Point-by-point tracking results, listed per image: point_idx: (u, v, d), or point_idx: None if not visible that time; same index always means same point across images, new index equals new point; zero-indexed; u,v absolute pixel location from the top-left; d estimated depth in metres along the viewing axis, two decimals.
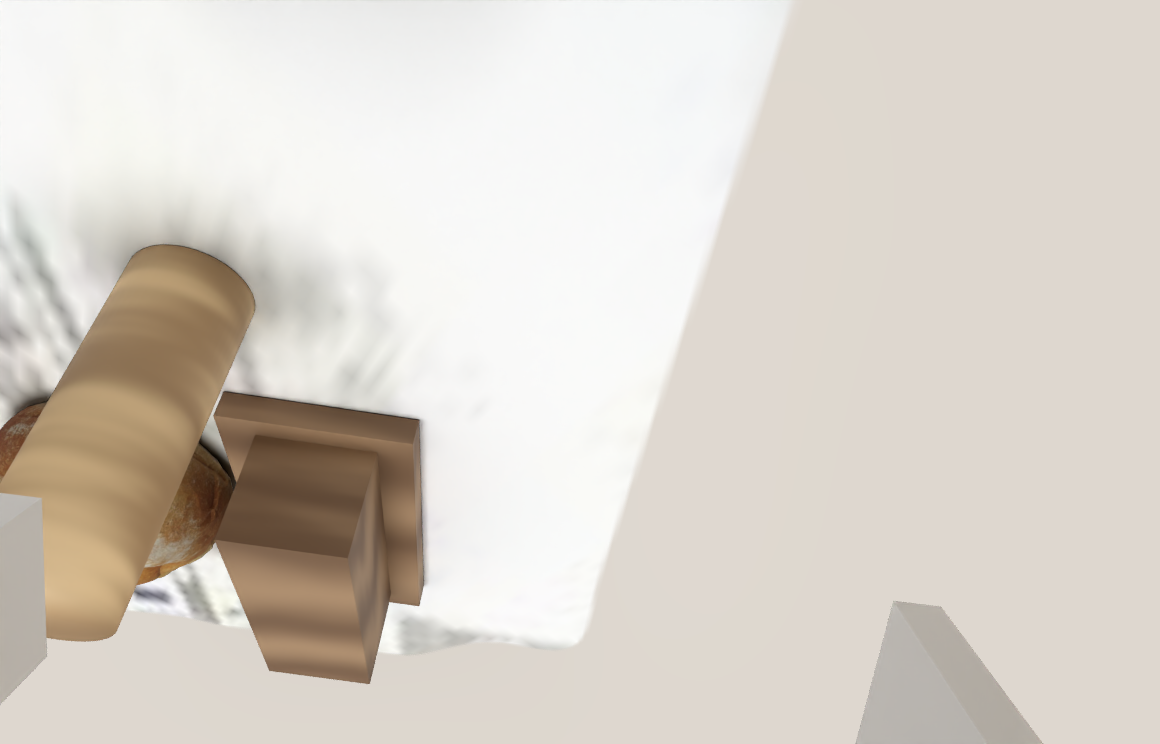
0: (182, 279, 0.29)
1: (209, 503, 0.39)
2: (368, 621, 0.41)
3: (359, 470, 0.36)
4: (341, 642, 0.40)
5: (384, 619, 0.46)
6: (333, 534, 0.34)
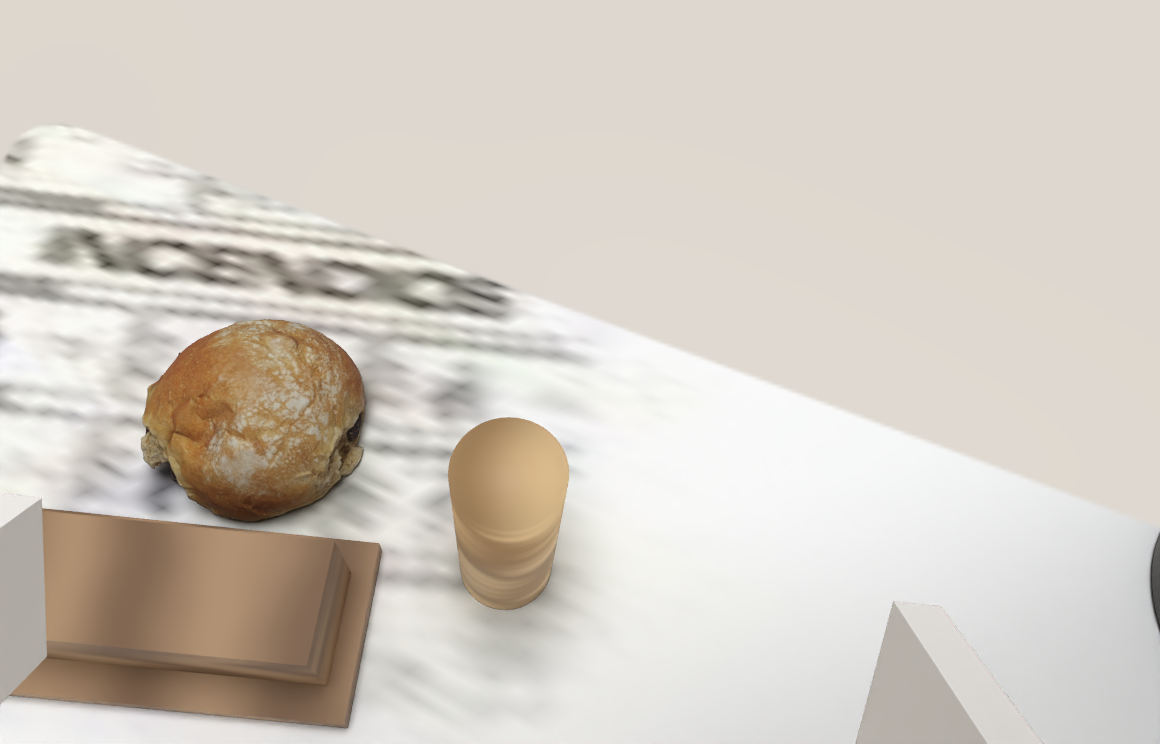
0: (549, 573, 0.42)
1: (261, 506, 0.41)
2: (91, 649, 0.35)
3: (326, 670, 0.38)
4: (84, 617, 0.35)
5: None
6: (315, 650, 0.36)
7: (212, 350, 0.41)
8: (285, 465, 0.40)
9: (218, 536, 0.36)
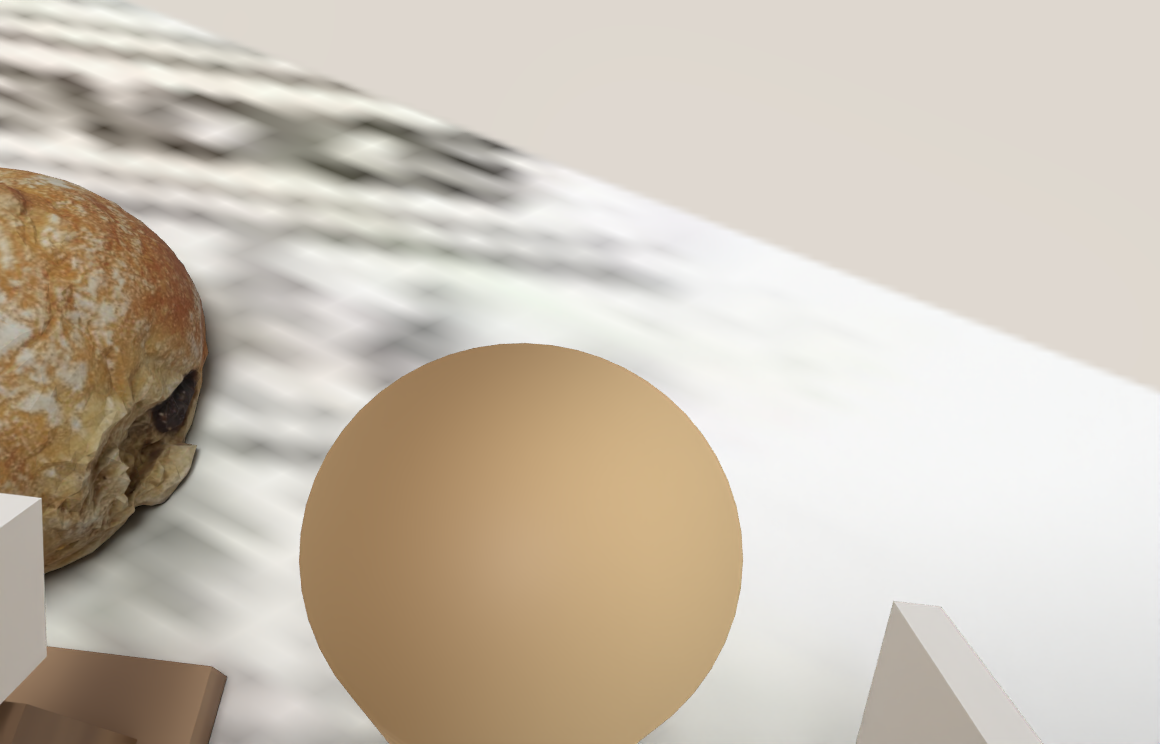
0: None
1: None
2: None
3: None
4: None
5: None
6: None
7: None
8: None
9: None
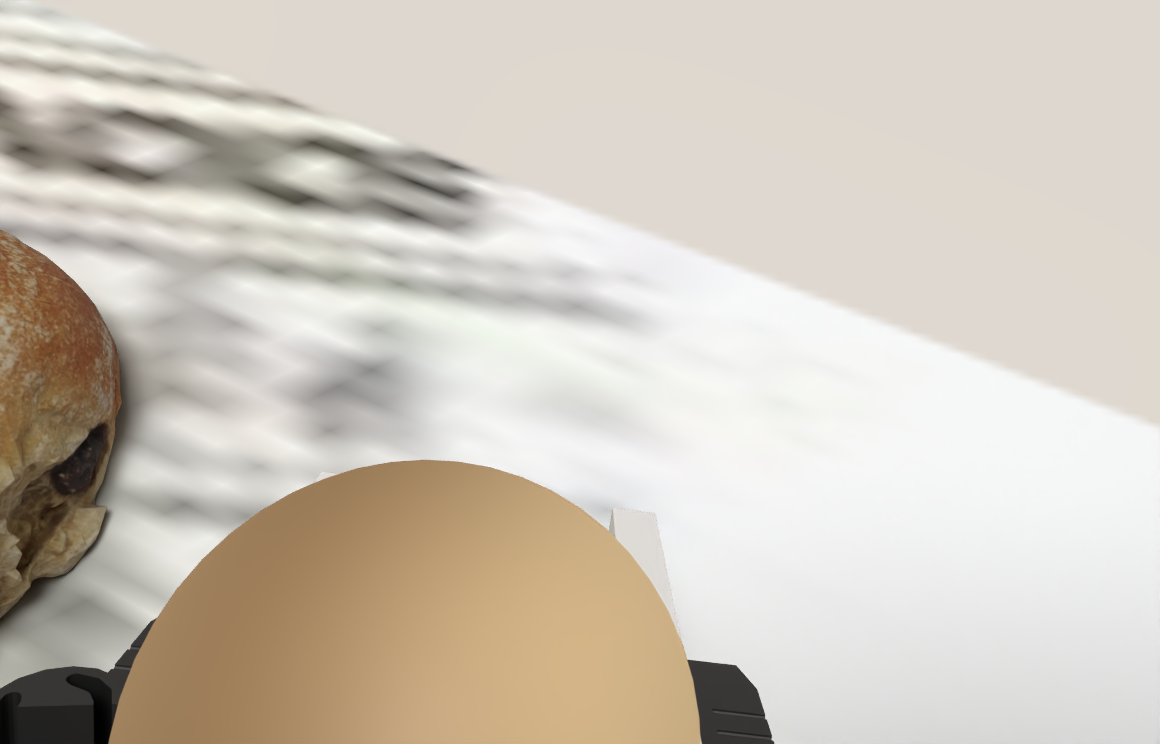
0: None
1: None
2: None
3: None
4: None
5: None
6: None
7: None
8: None
9: None
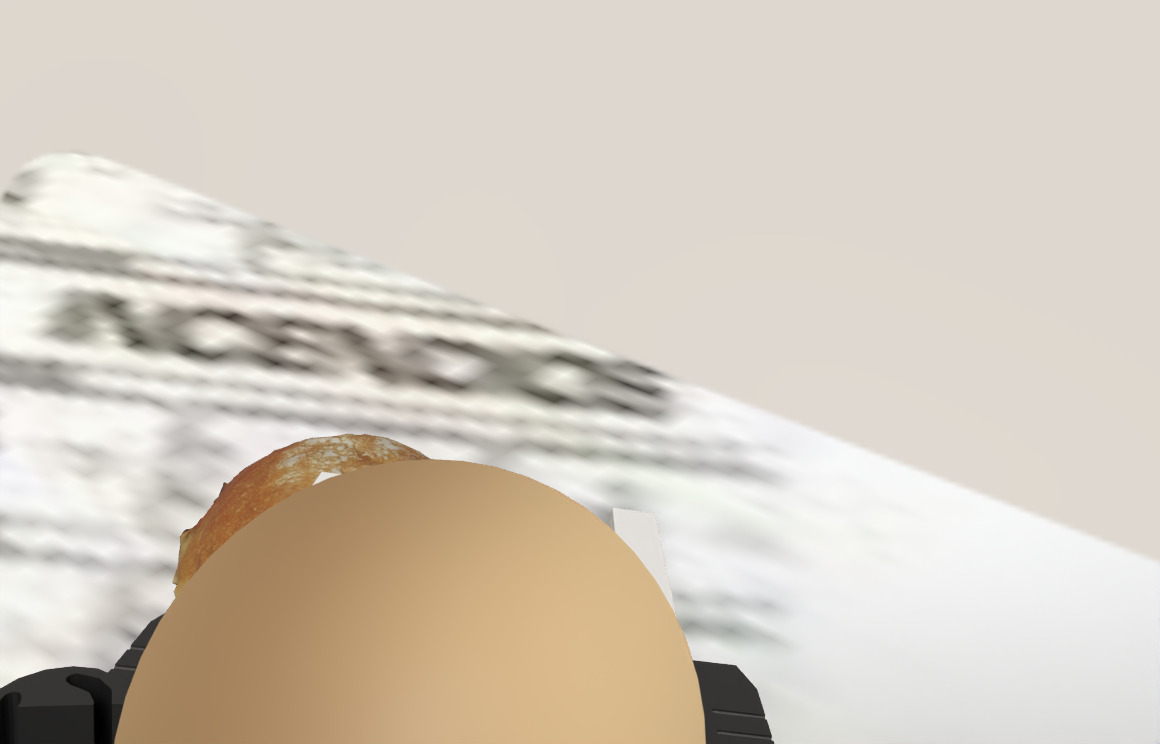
0: None
1: None
2: None
3: None
4: None
5: None
6: None
7: (276, 491, 0.29)
8: None
9: None
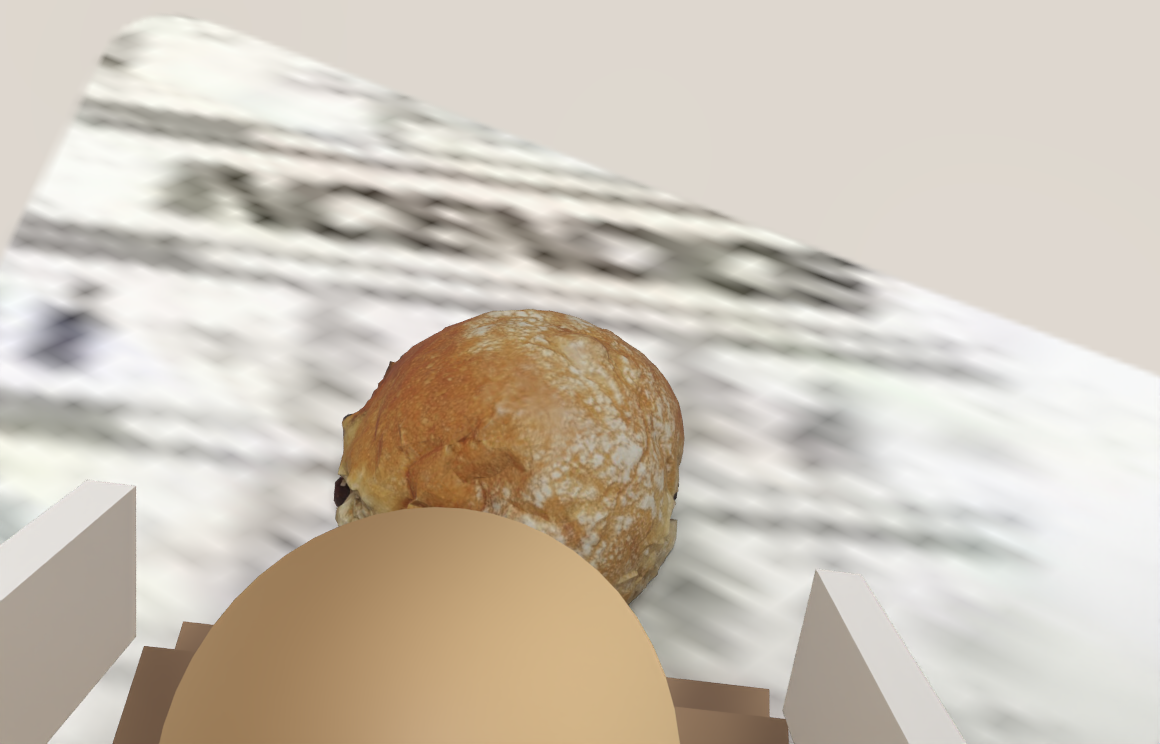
0: None
1: None
2: None
3: None
4: None
5: None
6: None
7: (473, 359, 0.24)
8: (607, 565, 0.23)
9: None
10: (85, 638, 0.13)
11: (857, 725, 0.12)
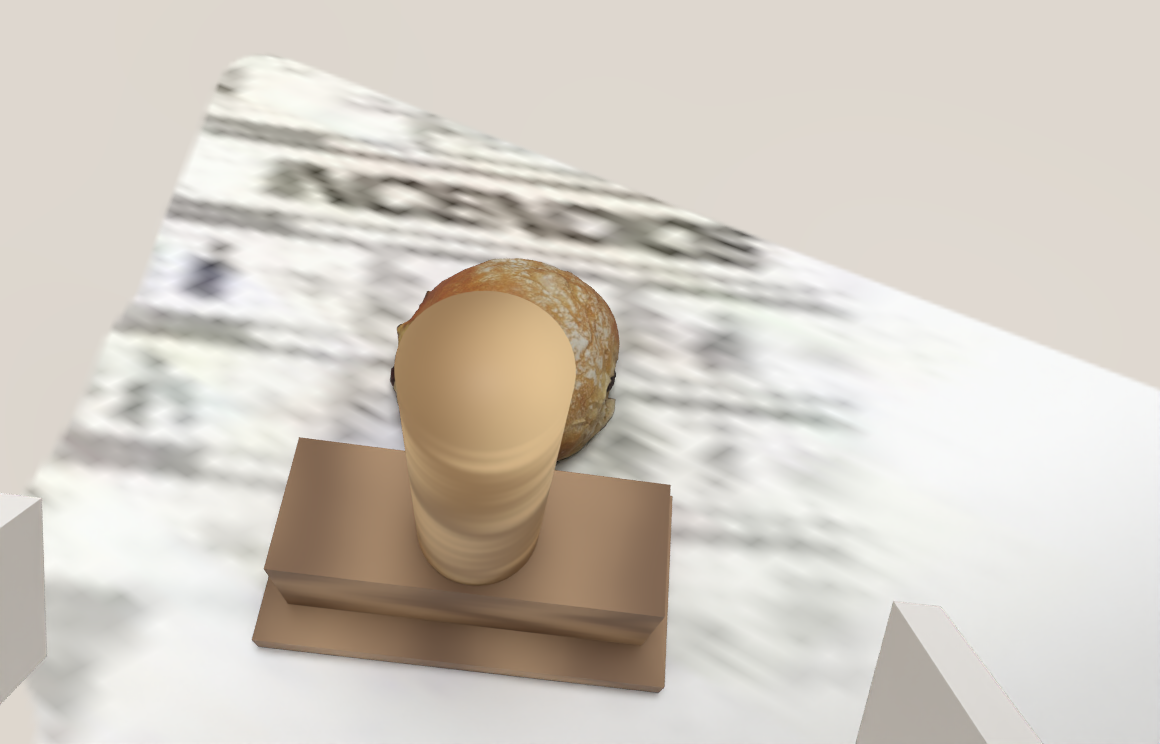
0: (537, 536, 0.31)
1: None
2: (420, 595, 0.32)
3: None
4: (419, 560, 0.31)
5: (286, 594, 0.33)
6: None
7: (482, 285, 0.38)
8: None
9: None
10: None
11: None
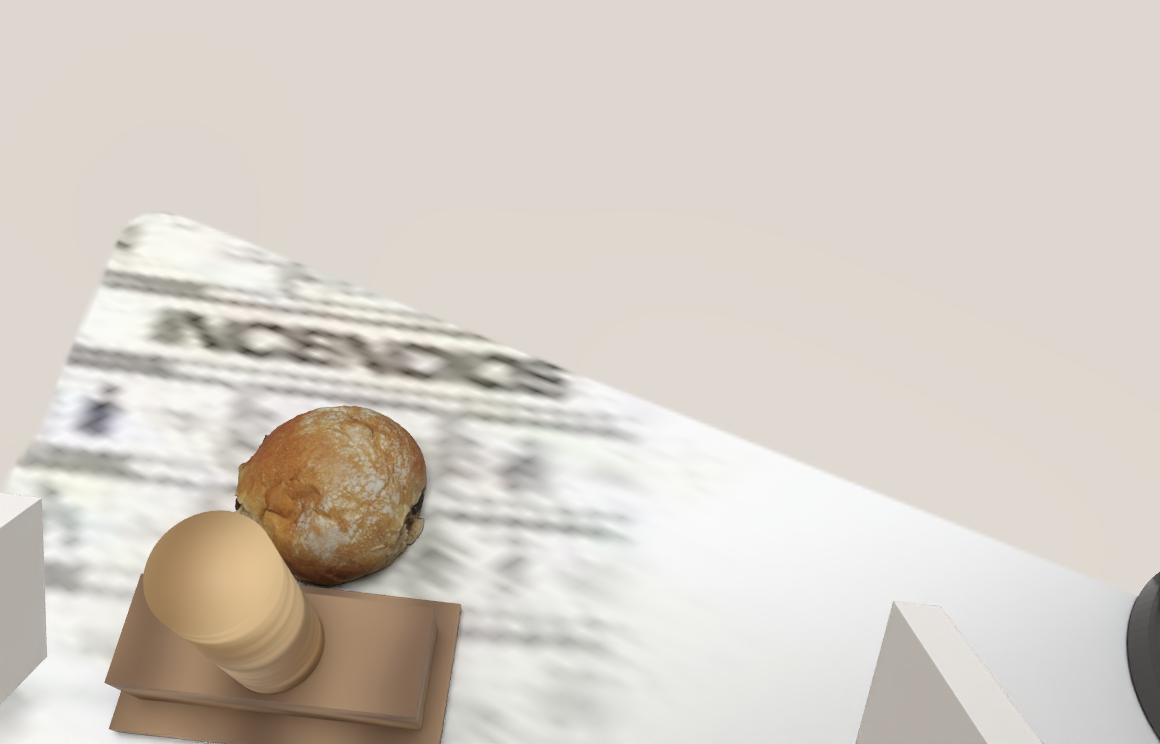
0: (314, 656, 0.40)
1: (340, 575, 0.47)
2: (229, 699, 0.41)
3: (421, 717, 0.44)
4: (226, 673, 0.41)
5: (133, 694, 0.43)
6: (419, 702, 0.42)
7: (300, 438, 0.47)
8: (363, 541, 0.46)
9: (335, 603, 0.43)
10: None
11: None
